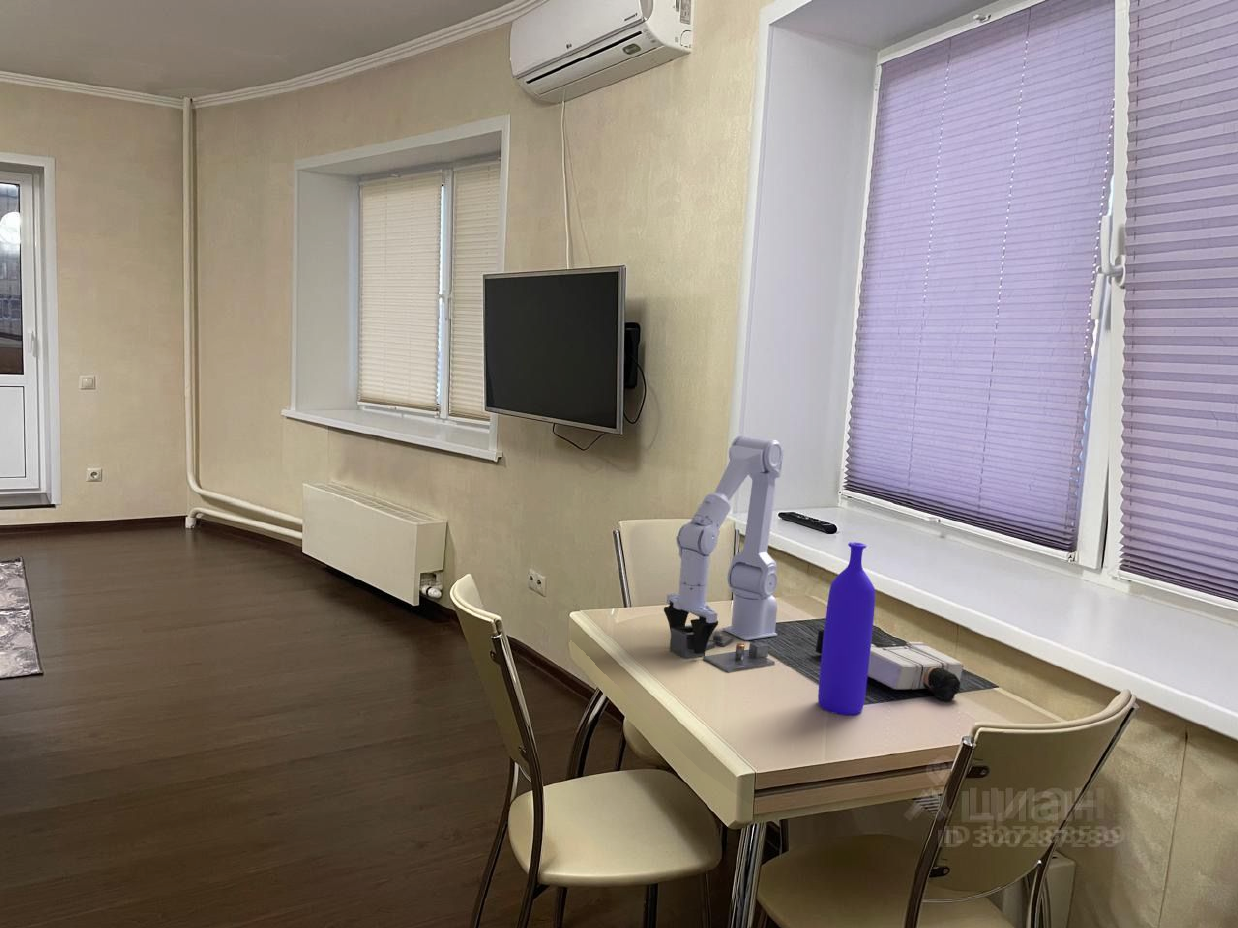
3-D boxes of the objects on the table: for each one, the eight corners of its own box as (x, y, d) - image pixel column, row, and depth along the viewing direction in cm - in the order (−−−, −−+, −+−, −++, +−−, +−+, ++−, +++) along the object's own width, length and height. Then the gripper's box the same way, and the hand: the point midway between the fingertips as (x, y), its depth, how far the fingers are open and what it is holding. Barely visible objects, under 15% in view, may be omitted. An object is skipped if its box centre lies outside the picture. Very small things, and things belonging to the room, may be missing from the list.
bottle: (865, 719, 165) (883, 551, 161) (816, 712, 166) (833, 545, 162) (862, 701, 173) (880, 541, 169) (816, 695, 174) (832, 536, 170)
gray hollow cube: (689, 648, 197) (691, 624, 196) (705, 655, 192) (707, 632, 192) (669, 651, 194) (671, 627, 193) (684, 659, 189) (686, 635, 189)
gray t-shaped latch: (711, 636, 206) (711, 628, 205) (732, 641, 203) (733, 633, 203) (693, 647, 197) (694, 638, 197) (715, 652, 195) (716, 643, 195)
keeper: (750, 651, 197) (752, 635, 196) (776, 664, 190) (778, 647, 190) (703, 659, 190) (704, 641, 190) (728, 672, 184) (729, 654, 183)
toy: (804, 655, 196) (916, 710, 171) (809, 622, 195) (923, 673, 170) (869, 651, 206) (984, 702, 181) (874, 620, 206) (991, 667, 180)
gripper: (656, 574, 195) (651, 638, 197) (699, 593, 183) (693, 660, 185) (684, 572, 199) (679, 634, 200) (727, 590, 187) (721, 656, 188)
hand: (687, 646), depth 193 cm, fingers open, 7 cm apart
